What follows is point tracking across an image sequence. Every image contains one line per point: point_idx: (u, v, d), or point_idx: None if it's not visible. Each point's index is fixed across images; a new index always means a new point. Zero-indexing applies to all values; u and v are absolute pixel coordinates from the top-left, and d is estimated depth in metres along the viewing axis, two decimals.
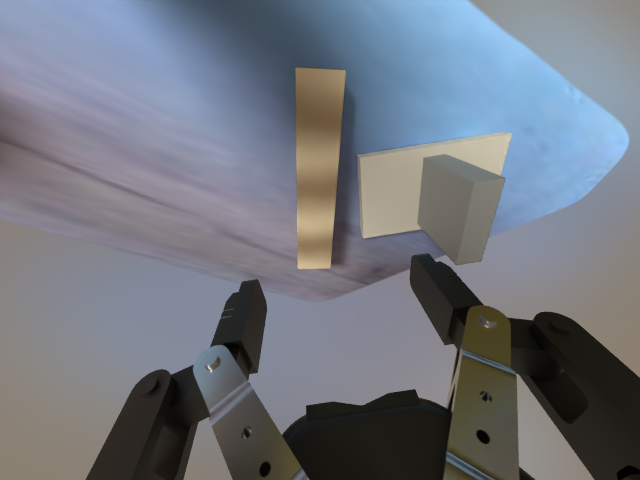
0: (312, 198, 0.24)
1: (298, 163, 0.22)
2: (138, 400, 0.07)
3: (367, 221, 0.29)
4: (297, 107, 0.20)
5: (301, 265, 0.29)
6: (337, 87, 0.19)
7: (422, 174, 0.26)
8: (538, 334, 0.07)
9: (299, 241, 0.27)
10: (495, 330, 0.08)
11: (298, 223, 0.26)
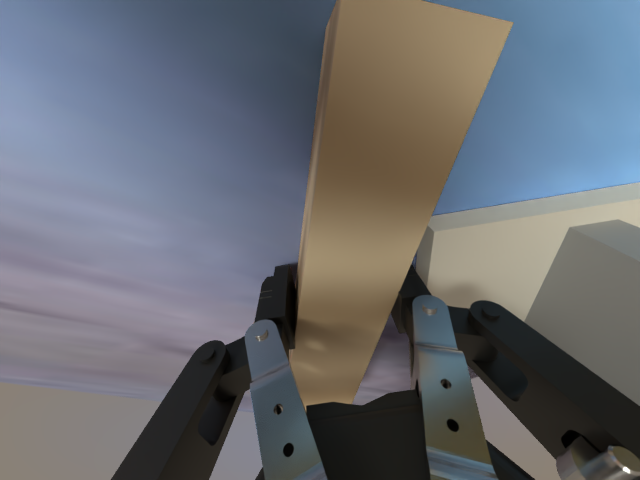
0: (330, 329, 0.11)
1: (309, 266, 0.09)
2: (197, 364, 0.08)
3: None
4: (328, 127, 0.06)
5: None
6: (466, 80, 0.06)
7: (557, 258, 0.12)
8: (476, 324, 0.08)
9: None
10: (433, 316, 0.08)
11: (293, 366, 0.12)
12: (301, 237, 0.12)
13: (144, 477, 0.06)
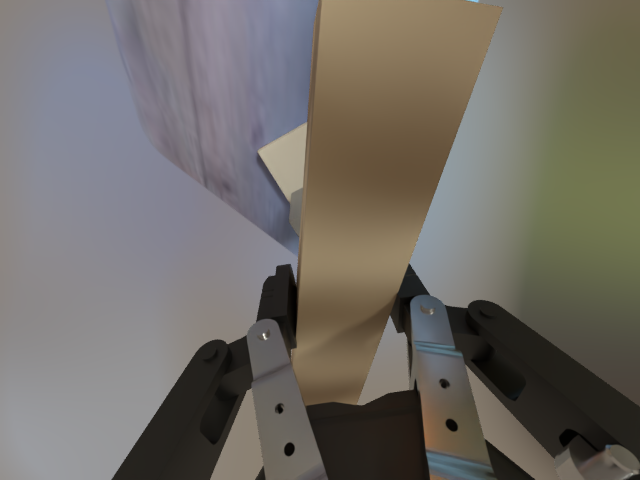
0: (331, 329, 0.11)
1: (305, 266, 0.09)
2: (199, 363, 0.08)
3: (275, 146, 0.30)
4: (317, 125, 0.06)
5: None
6: (457, 70, 0.06)
7: None
8: (474, 324, 0.08)
9: None
10: (431, 316, 0.08)
11: (296, 367, 0.12)
12: None
13: (146, 475, 0.06)
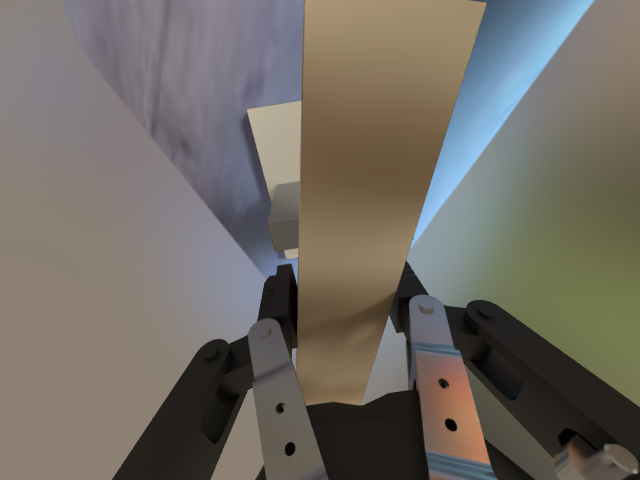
0: (332, 329, 0.11)
1: (303, 267, 0.09)
2: (201, 362, 0.08)
3: (275, 112, 0.20)
4: (307, 127, 0.06)
5: None
6: (444, 67, 0.06)
7: None
8: (472, 324, 0.08)
9: None
10: (430, 316, 0.08)
11: (299, 366, 0.12)
12: None
13: (147, 474, 0.06)
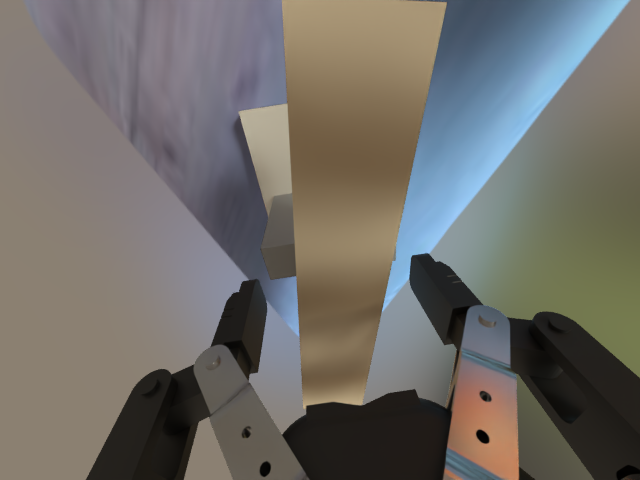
0: (331, 314, 0.11)
1: (299, 255, 0.09)
2: (139, 400, 0.07)
3: (271, 115, 0.18)
4: (293, 125, 0.07)
5: None
6: (413, 62, 0.06)
7: None
8: (537, 334, 0.07)
9: (305, 376, 0.14)
10: (495, 330, 0.08)
11: (302, 352, 0.13)
12: None
13: None
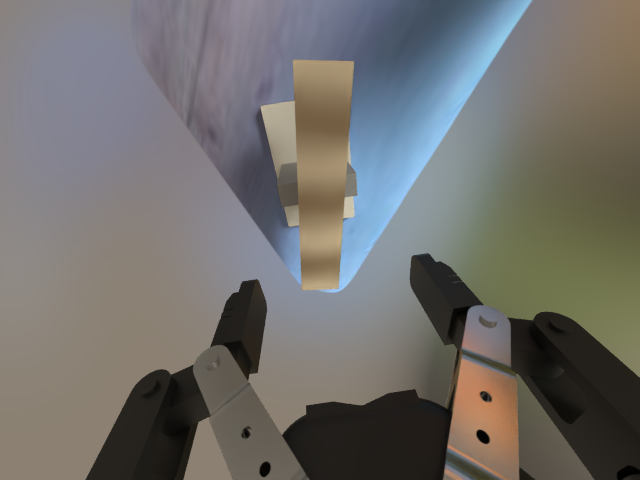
0: (316, 213, 0.21)
1: (299, 174, 0.19)
2: (138, 400, 0.07)
3: (281, 108, 0.27)
4: (296, 108, 0.17)
5: (305, 286, 0.25)
6: (344, 82, 0.16)
7: None
8: (538, 334, 0.07)
9: (302, 260, 0.24)
10: (495, 330, 0.08)
11: (301, 241, 0.22)
12: None
13: None
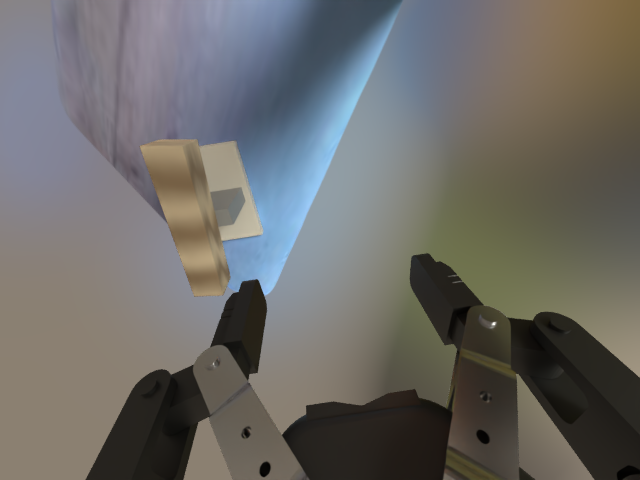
0: (187, 241, 0.29)
1: (166, 215, 0.27)
2: (138, 400, 0.07)
3: None
4: (151, 174, 0.24)
5: (196, 293, 0.33)
6: (179, 158, 0.24)
7: (230, 189, 0.38)
8: (538, 334, 0.07)
9: (188, 274, 0.31)
10: (495, 330, 0.08)
11: (182, 260, 0.30)
12: None
13: None
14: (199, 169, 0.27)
